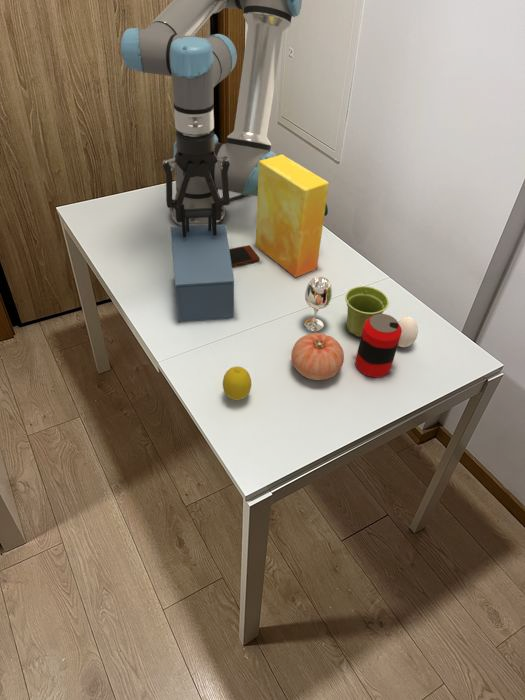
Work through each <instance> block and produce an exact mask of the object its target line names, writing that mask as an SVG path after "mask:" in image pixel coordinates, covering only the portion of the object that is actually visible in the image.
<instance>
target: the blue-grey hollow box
mask: <svg viewBox="0 0 525 700" xmlns="http://www.w3.org/2000/svg"><path fill="white" fill-rule="evenodd" d="M175 296H176V306H177V307H176V309H177V320H178V323H184V322H185V323H187V322H196V321H198V322H199V321H208V320H209V321H211V320H225V319H234V318H235V282H234V283H227V284H212V285H197V286H182V287H176V286H175Z"/></svg>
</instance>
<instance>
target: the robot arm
mask: <svg viewBox="0 0 525 700" xmlns="http://www.w3.org/2000/svg"><path fill="white" fill-rule="evenodd" d="M302 2H303V0H172V1H171V2H170V3H168V5H167V6H166V7H165V8H164V9H163V10H162V11H161V12H160V13H159V14H158V15H157V16H156V17H155V19H154V20H152V22H151V23H150V24H149V25H147V27H146V28H144V29H143V28H141V27H136V28H135V27H134V28H133V27H129V28H127V29H125V31H124V32H123V34H122V37H121V41H120V53H121V57H122V61H123V63H124V65H125V67H127V68H128V69H130V70H132V71H136V72H141V73H142V74H152V75H158V76H159V75H160V76H165V77H166V76H167V77H171V85H172V97H173V115H174V128H175V129H176V131H175V141H174V143H173V155H172V158H169V159H168V158H167V157H165V158H162V167H163V170H164V173H165V199H166V200H165V202H166V207H167V208H168V209H169V212H170V213H171V219H172V221H173V222H174V224H176V225H177V226H178V227H180V226H182V233H183V237H186V218H185V209H196V208H212V213H213V216H212V220H211V225H212V231H213V235H217V228H216V225H221V224H223V222H224V221H225V218H226V209H225V207H224V206H229V205H230V202H232V201H235V200H238V199H242V198H244V197H248V196H252V197H258V175H259V161H261V160H264V159H268V158H271V157H275V156H277V155H276V153H275V152H274V151H273V150H272V149H271V148H272V143H271V141H270V140H269V139H268V129H269V125H270V124H269V123H270V117H271V112H272V105H273V100H274V99H273V98H274V92H275V91H274V90H275V85H276V78H277V73H278V67H279V60H280V53H281V48H282V41H283V34H284V32H285V31H286V30H288V28H290V27H291V25H292V18H296V17H298V16H299V15H300V13H301V9H302ZM224 9H236V10H243V14H242V17H243V19H244V20H245V22H246V24H247V32H246V39H245V46H244V47H245V48H244V54H243V61H242V67H241V77H240V83H239V89H238V90H239V91H238V98H237V104H236V105H237V106H236V112H235V120H234V127H233V128H234V129H233V131H232V132H230V134H228V135H227V136H226V143H221V142H219V138H218V136H217V134H215V130H214V129H215V114H214V113H215V112H214V111H215V110H214V109H215V105H214V103H215V102H214V88H215V87H216V86H217V85H218V84H220V82H222V81H223V80H224V79H227V77H229V75H230V74H231V73H232V71H233V70H234V68H236V67H235V66H236V64H237V60H238V54H237V49H236V46H235V44H234V42H233V41H232V40H231V39H230V38H229V37H228V36H227V35H224V34H222V33H215V34H211V35H208V36H206V37H201V36H195V35H196V34H197V33H198V32H199V30H200V29H201V28H202V27H203V26H204V24H206V23H207V21H208V20H209V19H210V17H212V15H214V14H217V13H220V12H221V11H222V10H224ZM173 171H174V177H175V179H174V180H175V190H176V191H175V196H174V199H173ZM220 190H221V192H222V196H221V195H220V192H219V191H220ZM230 192H231V193H235V194H236V193H237V194H239V195H236V196H232V197H230ZM201 225H208V217H205V218H189V226H201Z"/></svg>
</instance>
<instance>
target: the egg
mask: <svg viewBox="0 0 525 700" xmlns="http://www.w3.org/2000/svg"><path fill="white" fill-rule="evenodd" d="M397 322H398V324H399V325H400V327H401V329H402V333H401V337H400V340H399V343H398V346H397V347H400V348H408V347H410V346H411V345H413V344H414V343H415V341H416V340H417V338H418V334H419V327H418V324H417V323H418V322H416V320H415V319H414V318H413V317H411V316H404V317H401V318H400V319H398V320H397Z"/></svg>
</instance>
